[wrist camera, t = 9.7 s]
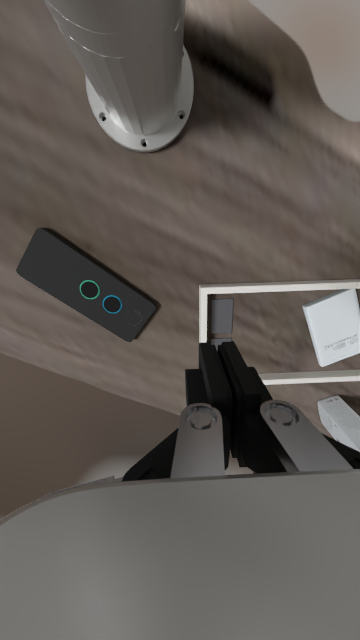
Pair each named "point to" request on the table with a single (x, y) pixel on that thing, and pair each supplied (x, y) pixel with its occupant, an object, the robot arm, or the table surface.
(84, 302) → the smart home device
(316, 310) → the external hard drive
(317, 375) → the box
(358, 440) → the skincare box
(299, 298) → the table surface
